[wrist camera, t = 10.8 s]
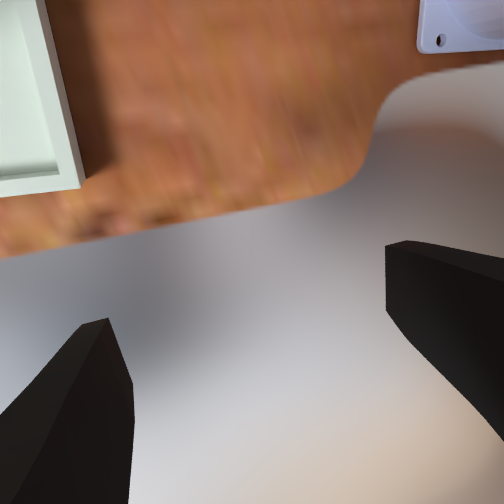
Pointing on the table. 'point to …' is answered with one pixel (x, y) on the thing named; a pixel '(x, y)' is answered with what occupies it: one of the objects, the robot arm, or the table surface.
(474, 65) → the table surface
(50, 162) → the sage tray
